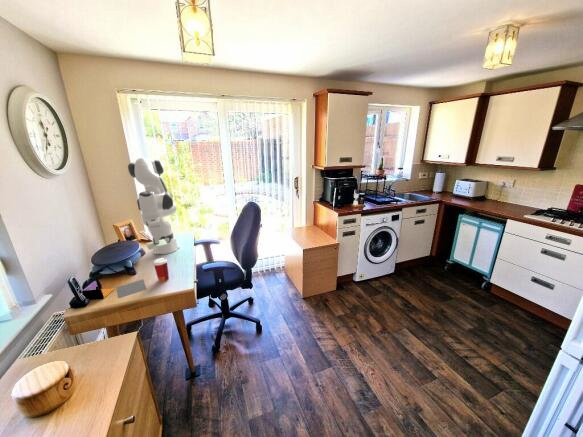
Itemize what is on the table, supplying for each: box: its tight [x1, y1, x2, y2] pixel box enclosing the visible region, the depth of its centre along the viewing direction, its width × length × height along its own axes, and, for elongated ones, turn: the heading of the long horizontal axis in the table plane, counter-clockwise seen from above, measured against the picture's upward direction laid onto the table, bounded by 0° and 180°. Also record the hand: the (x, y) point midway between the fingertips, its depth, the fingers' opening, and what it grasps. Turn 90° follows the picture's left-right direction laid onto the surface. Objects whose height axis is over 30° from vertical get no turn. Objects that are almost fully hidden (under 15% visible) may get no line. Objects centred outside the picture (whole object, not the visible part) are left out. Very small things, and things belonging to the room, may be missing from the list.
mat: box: [116, 278, 147, 299], centre depth 141 cm, size 14×14×1 cm
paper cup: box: [152, 257, 170, 283], centre depth 148 cm, size 8×8×14 cm
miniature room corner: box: [81, 280, 115, 301], centre depth 135 cm, size 12×12×7 cm
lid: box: [145, 237, 168, 251], centre depth 142 cm, size 10×10×4 cm
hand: (156, 241), depth 142 cm, fingers closed on lid, 3 cm apart
